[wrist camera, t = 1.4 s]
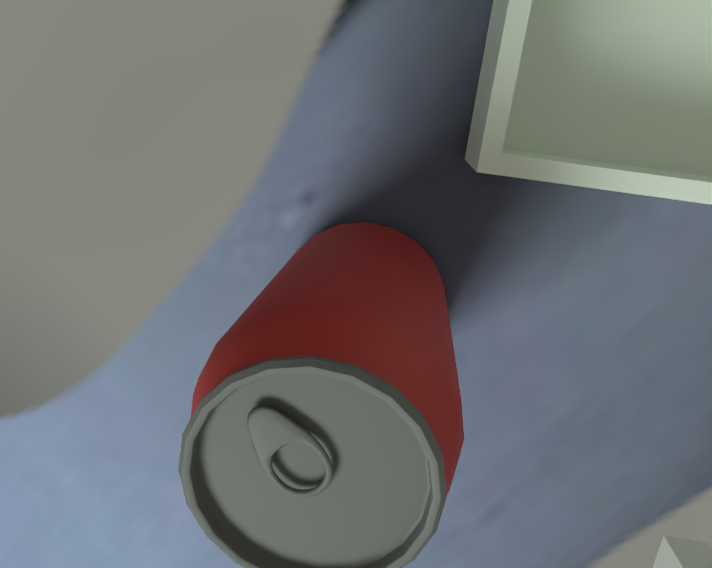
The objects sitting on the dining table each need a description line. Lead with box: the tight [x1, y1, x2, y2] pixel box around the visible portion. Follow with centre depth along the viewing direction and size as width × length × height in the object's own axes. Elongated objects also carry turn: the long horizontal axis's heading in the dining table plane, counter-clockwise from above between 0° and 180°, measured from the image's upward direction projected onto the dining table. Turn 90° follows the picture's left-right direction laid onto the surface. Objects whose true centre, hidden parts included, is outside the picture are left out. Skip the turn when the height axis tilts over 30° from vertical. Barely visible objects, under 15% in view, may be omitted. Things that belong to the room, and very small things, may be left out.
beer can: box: [179, 222, 464, 568], centre depth 17 cm, size 7×7×12 cm
